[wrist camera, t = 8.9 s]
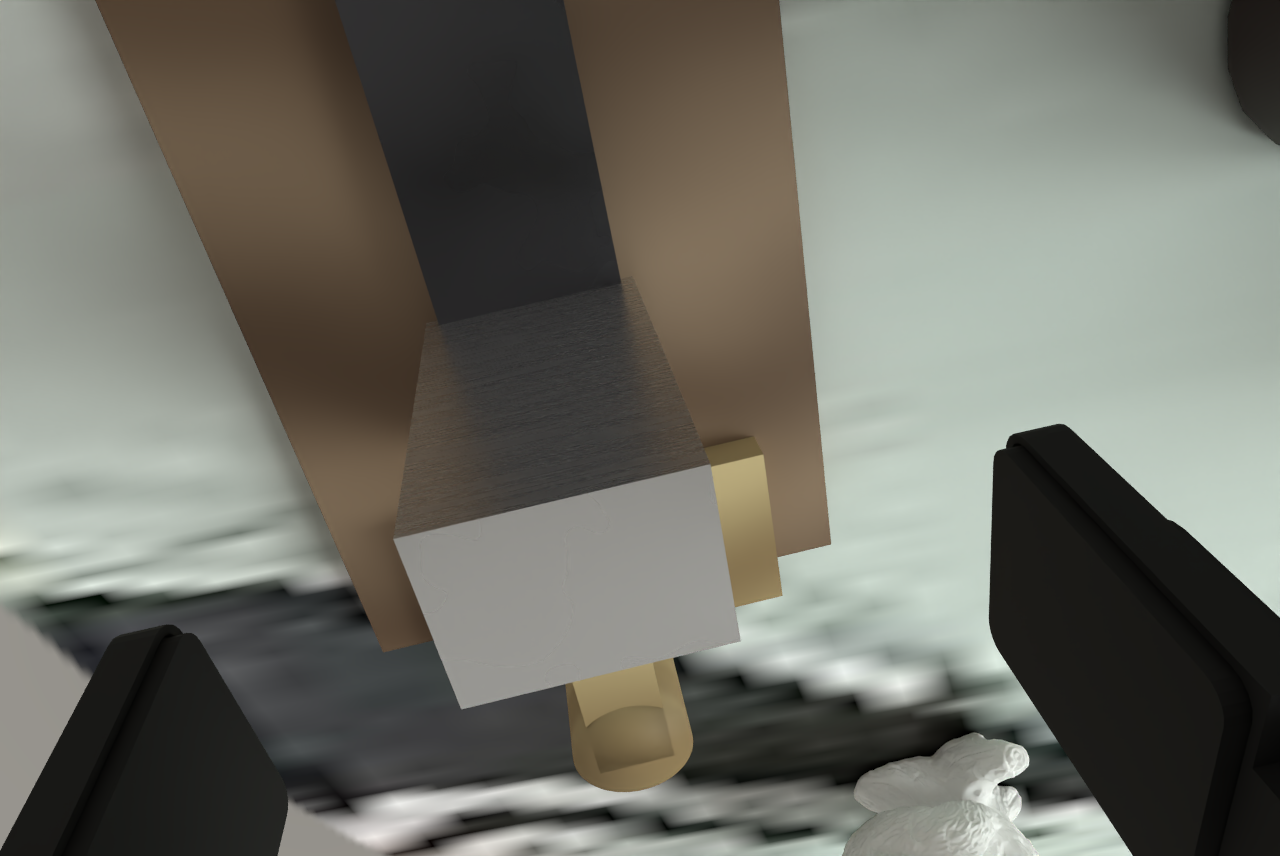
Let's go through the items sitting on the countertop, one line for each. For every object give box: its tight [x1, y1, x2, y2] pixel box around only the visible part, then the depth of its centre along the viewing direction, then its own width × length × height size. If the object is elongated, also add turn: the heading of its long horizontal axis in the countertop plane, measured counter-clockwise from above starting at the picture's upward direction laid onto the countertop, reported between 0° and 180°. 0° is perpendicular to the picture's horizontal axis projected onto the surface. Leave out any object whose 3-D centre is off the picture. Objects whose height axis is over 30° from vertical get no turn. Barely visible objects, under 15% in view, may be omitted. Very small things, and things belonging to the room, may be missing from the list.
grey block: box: [335, 0, 741, 709], centre depth 12 cm, size 14×4×7 cm, turn 11°
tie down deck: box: [95, 0, 831, 792], centre depth 13 cm, size 28×11×7 cm, turn 11°
